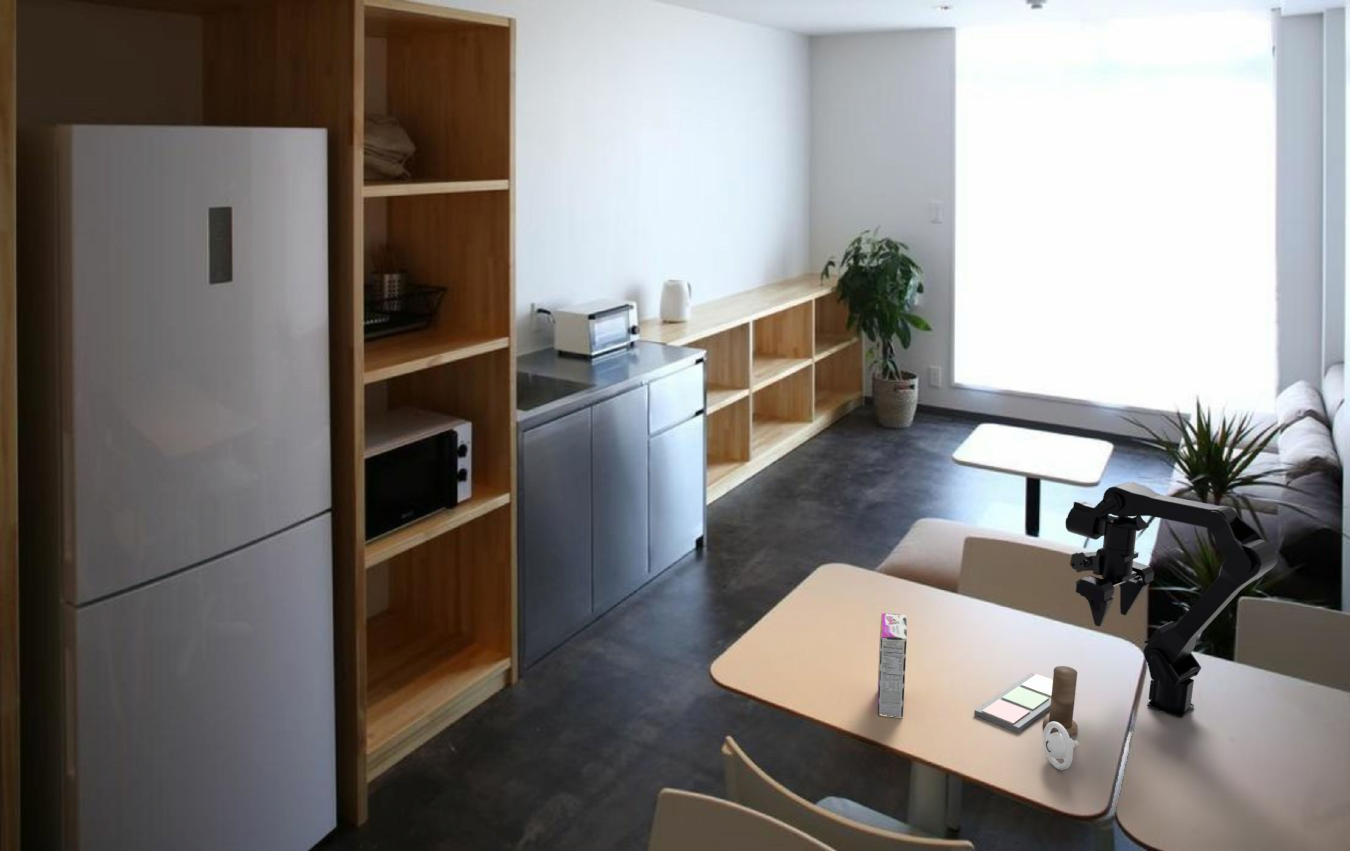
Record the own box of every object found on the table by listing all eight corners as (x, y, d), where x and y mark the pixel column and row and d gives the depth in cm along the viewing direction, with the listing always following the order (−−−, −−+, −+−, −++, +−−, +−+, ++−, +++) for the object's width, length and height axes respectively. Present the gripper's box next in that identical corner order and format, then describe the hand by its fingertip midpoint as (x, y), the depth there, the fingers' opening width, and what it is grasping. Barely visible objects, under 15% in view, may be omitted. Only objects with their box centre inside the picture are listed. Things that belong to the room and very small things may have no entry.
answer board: (1073, 692, 206) (1074, 686, 206) (1018, 732, 191) (1019, 726, 191) (1030, 677, 212) (1031, 671, 212) (974, 714, 197) (974, 708, 197)
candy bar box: (876, 689, 207) (881, 611, 203) (902, 691, 206) (907, 614, 202) (876, 716, 196) (880, 635, 193) (903, 719, 195) (908, 638, 192)
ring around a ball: (1033, 755, 183) (1037, 713, 182) (1062, 751, 185) (1066, 710, 183) (1059, 780, 176) (1063, 737, 174) (1089, 776, 177) (1094, 733, 175)
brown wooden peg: (1082, 728, 193) (1089, 671, 190) (1067, 740, 189) (1074, 681, 186) (1052, 716, 197) (1057, 660, 194) (1036, 727, 193) (1042, 670, 190)
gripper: (1107, 526, 217) (1100, 596, 220) (1054, 544, 206) (1047, 617, 209) (1159, 540, 208) (1150, 613, 211) (1106, 560, 197) (1098, 637, 201)
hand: (1110, 620), depth 208 cm, fingers open, 9 cm apart
